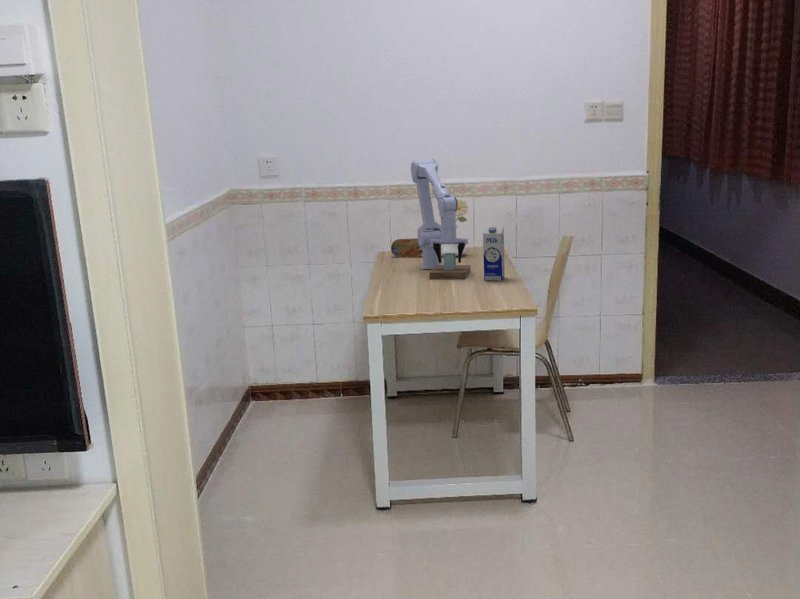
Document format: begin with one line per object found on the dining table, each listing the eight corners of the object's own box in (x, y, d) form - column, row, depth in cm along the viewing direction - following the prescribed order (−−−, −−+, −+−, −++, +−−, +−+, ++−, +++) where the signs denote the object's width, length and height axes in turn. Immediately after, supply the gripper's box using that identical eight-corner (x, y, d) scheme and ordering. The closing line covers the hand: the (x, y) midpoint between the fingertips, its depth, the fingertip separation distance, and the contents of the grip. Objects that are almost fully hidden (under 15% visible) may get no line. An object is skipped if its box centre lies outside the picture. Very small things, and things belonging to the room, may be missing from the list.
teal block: (445, 268, 313) (445, 253, 311) (455, 267, 312) (455, 253, 311) (444, 270, 309) (443, 255, 308) (454, 270, 308) (453, 254, 307)
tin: (391, 257, 354) (390, 239, 352) (392, 256, 357) (391, 237, 355) (424, 257, 350) (423, 238, 348) (425, 256, 353) (424, 237, 351)
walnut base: (435, 271, 319) (435, 265, 319) (470, 271, 316) (470, 265, 316) (429, 279, 306) (429, 272, 305) (465, 279, 303) (465, 272, 302)
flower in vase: (437, 258, 347) (435, 201, 341) (444, 253, 357) (442, 197, 351) (467, 258, 343) (465, 200, 337) (472, 253, 353) (470, 197, 347)
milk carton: (505, 277, 303) (503, 225, 298) (502, 281, 296) (501, 228, 292) (486, 277, 305) (485, 225, 300) (483, 280, 298) (482, 228, 294)
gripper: (428, 230, 305) (429, 264, 308) (465, 229, 301) (466, 264, 305) (431, 227, 311) (433, 261, 314) (468, 226, 308) (469, 260, 311)
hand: (449, 262), depth 310 cm, fingers open, 7 cm apart
